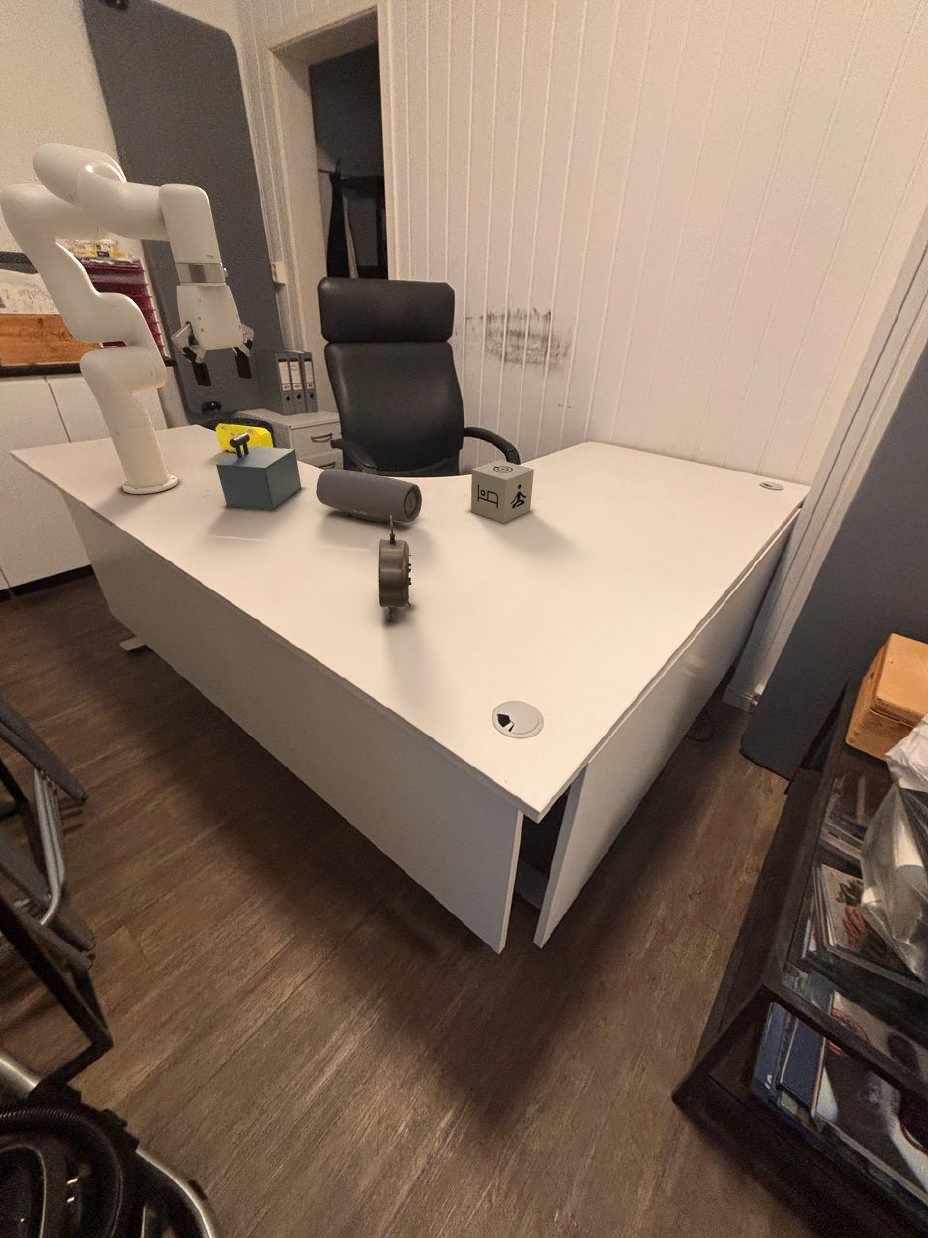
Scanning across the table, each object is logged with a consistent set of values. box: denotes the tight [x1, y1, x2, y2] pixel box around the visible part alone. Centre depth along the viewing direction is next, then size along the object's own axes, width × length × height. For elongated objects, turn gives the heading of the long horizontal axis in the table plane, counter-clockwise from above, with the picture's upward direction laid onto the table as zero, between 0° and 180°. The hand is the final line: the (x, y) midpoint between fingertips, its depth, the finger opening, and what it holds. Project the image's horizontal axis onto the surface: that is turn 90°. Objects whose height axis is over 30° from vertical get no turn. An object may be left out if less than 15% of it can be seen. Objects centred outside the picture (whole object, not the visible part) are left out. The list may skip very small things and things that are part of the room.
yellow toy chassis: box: [214, 423, 274, 453], centre depth 155 cm, size 16×6×8 cm, turn 71°
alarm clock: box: [377, 516, 412, 623], centre depth 81 cm, size 11×5×16 cm, turn 5°
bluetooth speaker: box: [315, 468, 423, 523], centre depth 113 cm, size 23×9×10 cm, turn 65°
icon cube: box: [470, 459, 535, 524], centre depth 117 cm, size 10×10×10 cm
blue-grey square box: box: [215, 433, 302, 511], centre depth 121 cm, size 12×15×14 cm
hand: (225, 381), depth 99 cm, fingers open, 9 cm apart
